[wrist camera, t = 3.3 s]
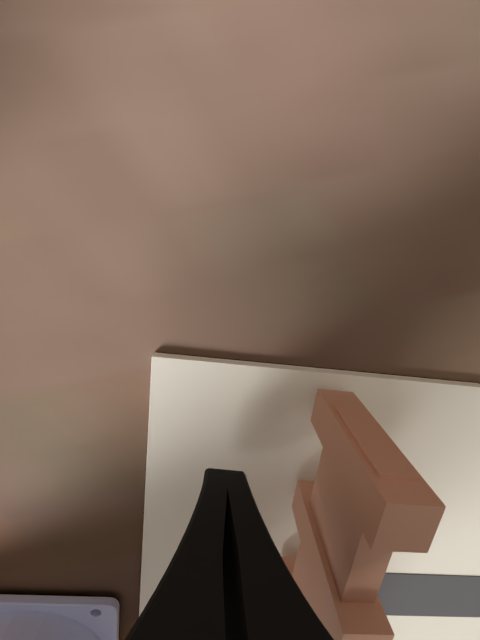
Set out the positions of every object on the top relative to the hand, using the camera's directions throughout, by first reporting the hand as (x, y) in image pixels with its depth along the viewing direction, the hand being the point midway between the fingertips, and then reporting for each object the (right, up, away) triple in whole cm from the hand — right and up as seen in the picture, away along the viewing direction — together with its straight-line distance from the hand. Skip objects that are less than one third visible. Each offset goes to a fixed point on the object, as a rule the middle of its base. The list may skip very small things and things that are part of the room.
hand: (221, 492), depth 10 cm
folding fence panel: (+4, -1, +2) cm, 5 cm away
